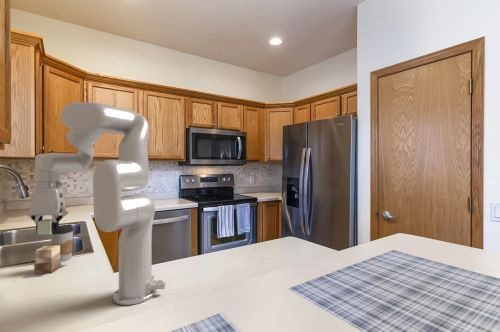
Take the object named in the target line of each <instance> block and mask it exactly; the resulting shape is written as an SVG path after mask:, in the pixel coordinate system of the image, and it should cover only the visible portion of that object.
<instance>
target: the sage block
mask: <svg viewBox="0 0 500 332" xmlns="http://www.w3.org/2000/svg"><path fill="white" fill-rule="evenodd" d="M52 223H53V219H52V218H45V219H44V218H43V220H41V221H38V225H37V231H36V234H37V235H38V236H39V235H40V236H42V235H43V236H44V235H45V236H47V235H51V234H53V233H52Z"/></svg>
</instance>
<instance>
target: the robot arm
mask: <svg viewBox="0 0 500 332" xmlns="http://www.w3.org/2000/svg"><path fill="white" fill-rule="evenodd" d="M60 115H61V116H60V118H61V122H62V124H63V125H64V126H65V127H67V128H68V129H69V130H68V131H67V133H66V136H65V137H66V139H67V140H66V141H67V142H68V144H70V146H72V147H74V148H75V149H76V150H78V152H76V153H69V152H68V153H65V152H61V153H60V152H47V153H39V154H36V156H35V157H34V158H35V159H34V177H35V178H34V181H35V182H34V189H33V190H32V194H31V201H30V209H29V210H28V211H27V213H26V214H25V216H27V217H29V218H30V219H31V220H33V222H34V224H35V230H36V232H37V225H38V221H41V220H44V216H51V219H53V223H52V233H55V232H58V230H59V226H60V222H61V220H63V218H64V217H66V216H68V214H69V212H68V209H66V201H65V194H64V190H63V188H61V187H63V186H64V182H61V178H60V177H61V175H60V174H67V173H68V174H71V173H73V174H74V173H79V172H80V173H81V172H82V171H85V169H86V168H88V166H89V165H90V164H91V163H92V161H93V160H94V159H93V158H94V156H95V151H94V150H95V149H94V144H96V142H97V141H98V140H99V139H100V138H101V137H102V135H103V134H113V135H121V136H123V137H122V138H121V140H120V142H119V144H118V149H117V150H118V151H117V152H118V159H107V160H106V159H105V160H104V161H103V160H102V161H101V162H99V164H98V165H97V166H96V167H95V170H94V172H93V176H92V191H93V192H92V194H93V195H92V196H93V197H92V198H93V201H92V202H93V218H94V222H95V224H96V227H97V228H98V229H99V230H100V231H102V232H105V233H106V232H107V233H111V232H116V231H118V230H121V232H120V234H119V238H118V289H117V290H115V291H114V292H113V295H112V301H113V302H114V303H115V304H118V305H122V306H128V305H129V306H131V305H137V304H141V303H143V301H144V302H146V301H149V300H150V299H152V298H153V297H154V296H155V295H156V294H157V291H158V290H165V289H166V282H165V281H164V280H163V279H159V280H156V279H155V275H152V273H153V271H152V268H153V267H152V265H153V264H152V260H153V259H152V258H153V257H152V242H153V241H152V240H153V239H152V237H153V236H152V235H153V233H152V231H153V224H154V218H155V213H156V212H155V211H156V207H155V203H154V200H153V199H152V197H150V196H148V195H146V194H139V193H137V194H129V195H123V196H122V193H123V192H124V193H125V192H132V191H137V190H142V189H144V188H146V186H147V185H148V183H149V178H150V177H149V174H150V173H149V172H150V171H149V170H150V169H149V147H148V146H149V136H150V125H149V121H148V120H147V118H146V117H145V116H144V115H142V114H141V113H139V112H136V111H134V110H132V109H131V110H130V109H126V108H122V107H118V106H113V105H109V104H108V105H107V104H104V103H98V102H90V101H89V102H84V101H72V102H69V103H68V104H66V105H65V106H64V107H63V109H62V110H61V114H60ZM140 302H141V303H140Z"/></svg>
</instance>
